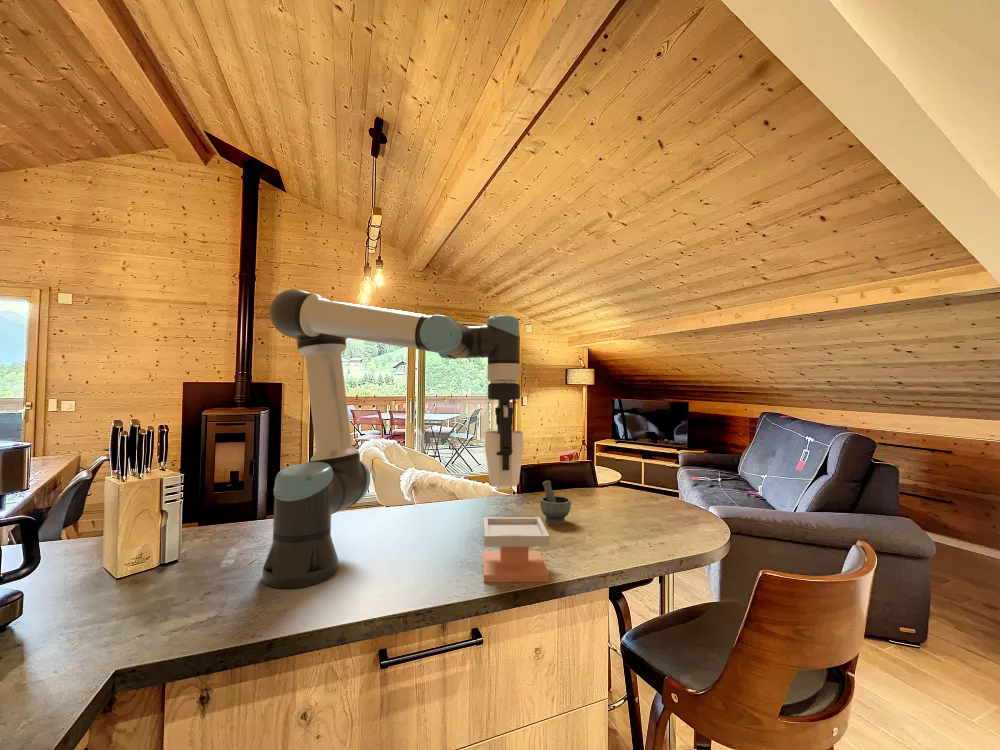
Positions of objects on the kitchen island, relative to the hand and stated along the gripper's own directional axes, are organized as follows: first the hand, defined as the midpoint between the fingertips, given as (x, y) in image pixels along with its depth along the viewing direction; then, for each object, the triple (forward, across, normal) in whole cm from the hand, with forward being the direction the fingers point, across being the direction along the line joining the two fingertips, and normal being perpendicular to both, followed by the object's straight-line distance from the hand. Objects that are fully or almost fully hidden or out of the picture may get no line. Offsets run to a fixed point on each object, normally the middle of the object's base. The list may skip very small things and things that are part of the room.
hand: (504, 480), depth 102 cm
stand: (+20, 0, -2) cm, 20 cm away
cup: (+1, 0, 0) cm, 1 cm away
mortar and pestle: (+21, +37, -18) cm, 46 cm away
